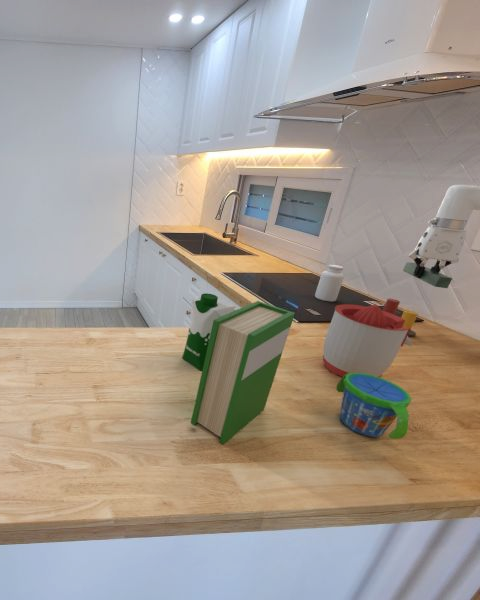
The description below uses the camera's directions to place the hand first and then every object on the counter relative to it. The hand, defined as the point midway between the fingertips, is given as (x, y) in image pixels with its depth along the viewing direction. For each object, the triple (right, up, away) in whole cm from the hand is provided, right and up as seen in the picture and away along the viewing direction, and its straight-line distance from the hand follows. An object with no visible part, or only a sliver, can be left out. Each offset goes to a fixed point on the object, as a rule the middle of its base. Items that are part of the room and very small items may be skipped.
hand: (423, 277), depth 117 cm
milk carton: (-86, -25, -23) cm, 93 cm away
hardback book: (-87, -33, -43) cm, 103 cm away
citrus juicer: (-44, -28, -24) cm, 58 cm away
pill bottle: (-11, -7, +32) cm, 35 cm away
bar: (0, -1, 0) cm, 1 cm away
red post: (-1, -15, +13) cm, 20 cm away
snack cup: (-59, -35, -44) cm, 82 cm away
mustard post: (-5, -19, +3) cm, 20 cm away
